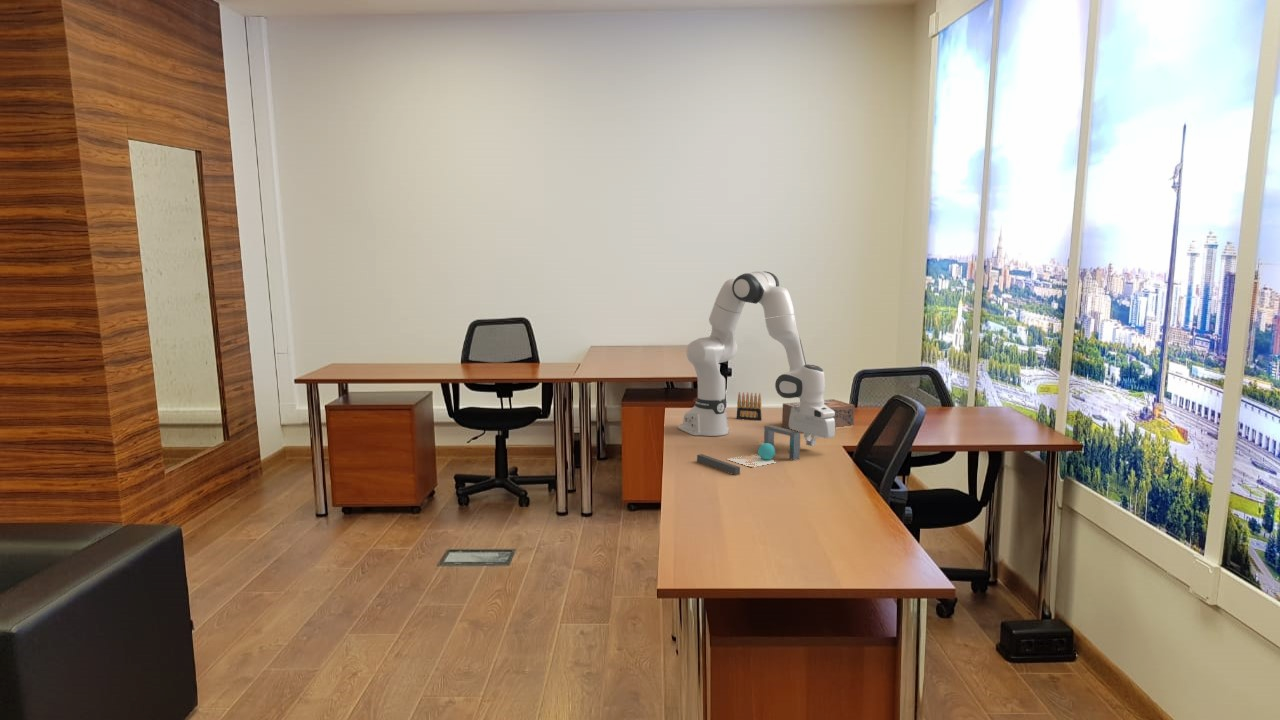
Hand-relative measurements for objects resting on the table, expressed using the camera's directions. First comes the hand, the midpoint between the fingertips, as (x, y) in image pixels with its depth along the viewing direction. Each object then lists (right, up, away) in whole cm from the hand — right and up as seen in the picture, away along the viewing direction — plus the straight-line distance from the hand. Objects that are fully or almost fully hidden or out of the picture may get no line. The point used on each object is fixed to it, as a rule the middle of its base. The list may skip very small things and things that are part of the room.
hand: (810, 445), depth 304 cm
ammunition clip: (-16, +6, +52) cm, 55 cm away
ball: (-19, -1, -15) cm, 24 cm away
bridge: (-12, -3, -8) cm, 15 cm away
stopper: (-37, -5, -25) cm, 45 cm away
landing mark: (-24, -4, -16) cm, 29 cm away
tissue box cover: (+11, +3, +38) cm, 40 cm away
